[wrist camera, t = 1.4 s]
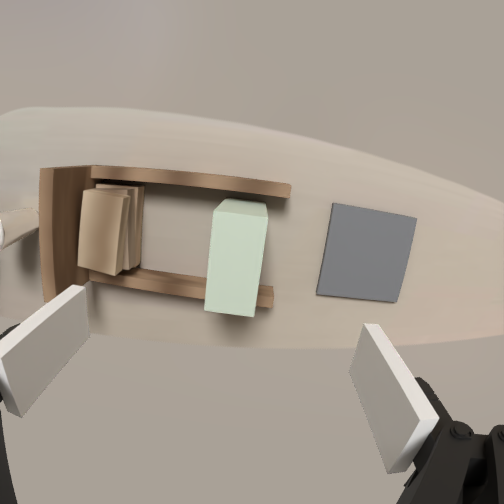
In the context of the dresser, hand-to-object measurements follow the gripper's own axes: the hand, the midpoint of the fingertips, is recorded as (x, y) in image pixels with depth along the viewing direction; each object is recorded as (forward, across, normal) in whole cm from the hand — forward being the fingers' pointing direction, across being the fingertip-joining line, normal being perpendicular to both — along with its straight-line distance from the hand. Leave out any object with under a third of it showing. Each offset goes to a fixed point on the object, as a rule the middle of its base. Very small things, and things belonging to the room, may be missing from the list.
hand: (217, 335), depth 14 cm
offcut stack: (+21, -13, 0) cm, 25 cm away
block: (+21, 0, 0) cm, 21 cm away
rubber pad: (+21, +14, 0) cm, 25 cm away
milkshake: (+21, -27, -1) cm, 34 cm away
